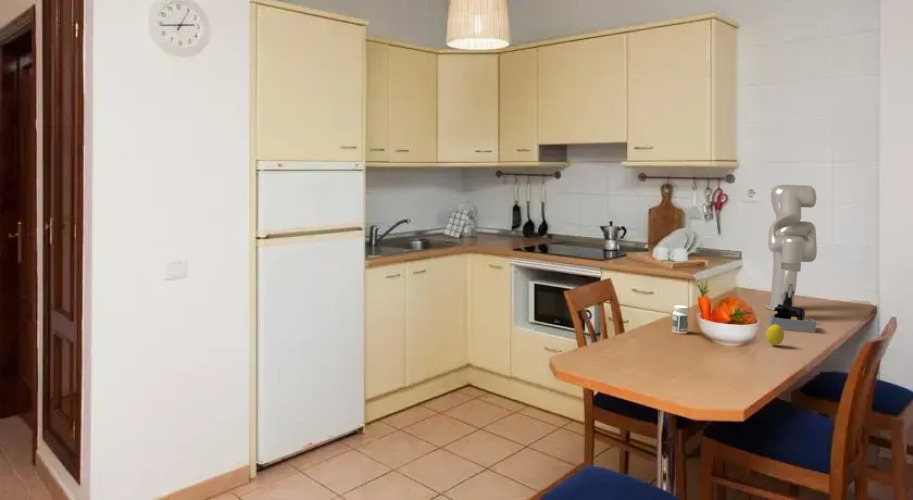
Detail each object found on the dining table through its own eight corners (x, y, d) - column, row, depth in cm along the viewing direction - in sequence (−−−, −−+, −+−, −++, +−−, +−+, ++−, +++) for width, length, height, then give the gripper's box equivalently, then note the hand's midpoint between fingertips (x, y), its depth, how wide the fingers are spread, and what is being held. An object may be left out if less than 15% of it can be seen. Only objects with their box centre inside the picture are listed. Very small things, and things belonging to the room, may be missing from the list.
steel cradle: (769, 323, 276) (770, 311, 275) (811, 327, 271) (812, 314, 270) (771, 328, 267) (772, 315, 266) (815, 333, 262) (816, 319, 261)
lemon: (762, 344, 242) (764, 322, 241) (777, 344, 243) (779, 322, 242) (770, 348, 237) (772, 325, 236) (786, 348, 237) (788, 325, 236)
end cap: (804, 323, 279) (805, 307, 278) (797, 325, 274) (798, 309, 274) (779, 319, 286) (780, 303, 286) (772, 321, 282) (773, 305, 281)
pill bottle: (687, 331, 258) (689, 305, 257) (687, 335, 253) (689, 308, 251) (671, 330, 260) (673, 304, 259) (671, 333, 254) (672, 307, 253)
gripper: (779, 264, 294) (775, 306, 296) (782, 268, 280) (778, 312, 282) (798, 265, 291) (794, 308, 293) (802, 269, 277) (798, 314, 279)
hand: (786, 310), depth 288 cm, fingers closed
